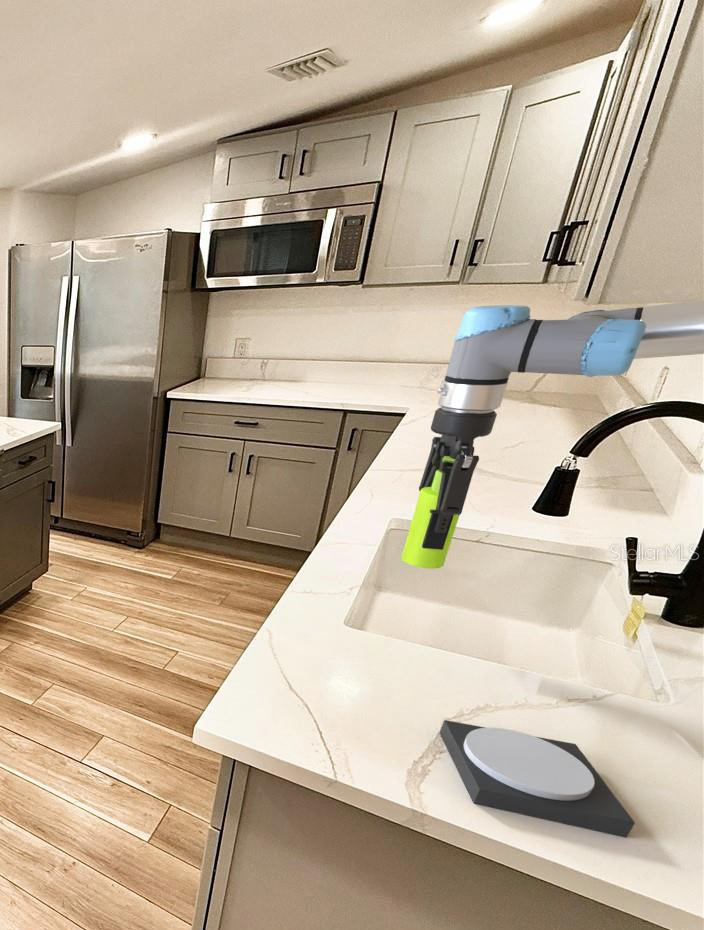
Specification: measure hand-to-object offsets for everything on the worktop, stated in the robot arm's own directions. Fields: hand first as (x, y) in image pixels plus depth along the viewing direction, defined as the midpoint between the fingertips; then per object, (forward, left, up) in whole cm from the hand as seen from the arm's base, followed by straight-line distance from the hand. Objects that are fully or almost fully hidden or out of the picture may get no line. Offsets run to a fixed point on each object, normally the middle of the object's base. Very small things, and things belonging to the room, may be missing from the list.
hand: (426, 540), depth 107 cm
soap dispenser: (0, 0, -4) cm, 4 cm away
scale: (-5, +40, -17) cm, 44 cm away
